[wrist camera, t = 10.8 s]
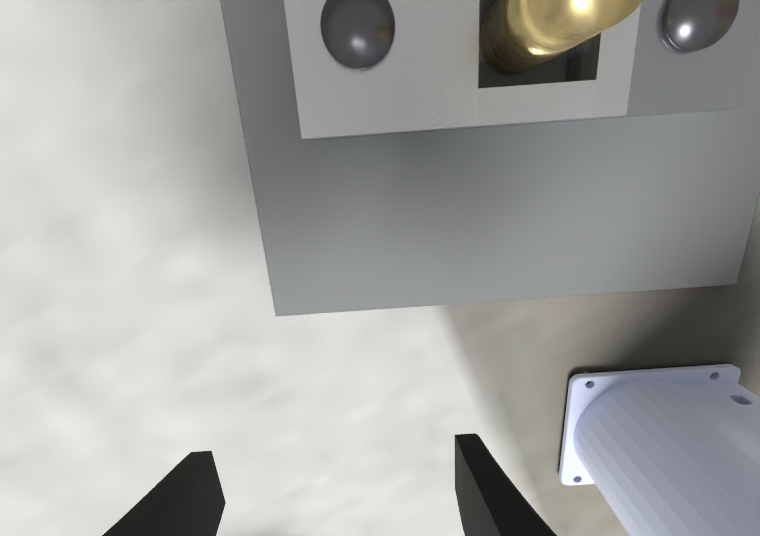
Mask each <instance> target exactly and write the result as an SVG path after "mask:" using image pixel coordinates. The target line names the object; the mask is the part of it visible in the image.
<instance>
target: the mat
mask: <svg viewBox="0 0 760 536" xmlns="http://www.w3.org/2000/svg"><path fill="white" fill-rule="evenodd" d="M220 1H221V7H222V13H223V18H224V24H225V30H226V35H227V41H228V47H229V53H230V58H231V64H232V70H233V75H234V81H235V87H236V92H237V98H238V104H239V109H240V115H241V121H242V127H243V132H244V138H245V144H246V149H247V155H248V161H249V166H250V172H251V178H252V183H253V189H254V195H255V201H256V206H257V212H258V218H259V223H260V229H261V235H262V240H263V246H264V252H265V257H266V263H267V269H268V275H269V280H270V286H271V292H272V297H273V303H274V309H275V314H276V316H287V315H302V314H316V313H331V312H345V311H360V310H374V309H389V308H403V307H418V306H432V305H447V304H461V303H476V302H490V301H505V300H519V299H534V298H548V297H562V296H577V295H591V294H606V293H620V292H635V291H649V290H664V289H678V288H693V287H707V286H722V285H736V284H737V280H738V276H739V272H740V268H741V264H742V260H743V256H744V252H745V248H746V244H747V241H748V237H749V233H750V229H751V225H752V221H753V217H754V213H755V209H756V205H757V202H758V198H759V194H760V22H759V26H758V31H757V35H756V40H755V44H754V49H753V53H752V58H751V62H750V67H749V71H748V76H747V80H746V85H745V89H744V94H743V98H742V103H741V107H740V108H736V109H727V110H719V111H709V112H695V113H681V114H668V115H654V116H640V117H627V118H613V119H599V120H586V121H572V122H558V123H545V124H531V125H517V126H504V127H490V128H477V129H463V130H449V131H436V132H422V133H408V134H395V135H381V136H367V137H354V138H340V139H326V140H313V141H312V140H306V139H302V137H301V130H300V122H299V114H298V106H297V99H296V91H295V83H294V75H293V68H292V60H291V52H290V44H289V37H288V29H287V21H286V13H285V6H284V0H220ZM495 1H496V0H479V32H480V27H481V24H482V21H483V19H484V17H485V15H486V13H487V11H488V10H489V9H490V7H491V6H492V5H493V4H494V2H495ZM566 59H567V51H565V52H563V53H561V54H559V55H557V56H556V57H554V58H552V59H550V60H548V61H546V62H544V63H542V64H540V65H539V66H537V67H535V68H533V69H531V70H529V71H527V72H525V73H523V74H520V75H515V76H507V75H503V74H500V73H497V72H496V71H494V70H493V69H492V68H490V67H489V66H488V64H487V63H486V62H485V60H484V58H483V56H482V54H481V50H480V45H479V65H478V89H479V88H492V87H506V86H519V85H533V84H546V83H559V82H565V71H566Z"/></svg>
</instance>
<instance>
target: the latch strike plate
mask: <svg viewBox="0 0 760 536" xmlns="http://www.w3.org/2000/svg"><path fill="white" fill-rule="evenodd" d="M284 6H285V13H286V21H287V29H288V37H289V44H290V52H291V60H292V68H293V75H294V83H295V91H296V99H297V106H298V114H299V122H300V130H301V137H302V139H306V140H312V141H313V140H326V139H340V138H354V137H367V136H381V135H395V134H408V133H422V132H436V131H449V130H463V129H477V128H490V127H504V126H517V125H531V124H545V123H558V122H572V121H586V120H599V119H613V118H627V117H640V116H654V115H668V114H681V113H695V112H709V111H719V110H727V109H736V108H740V107H741V103H742V98H743V94H744V89H745V85H746V80H747V76H748V71H749V67H750V62H751V58H752V53H753V49H754V44H755V40H756V35H757V31H758V26H759V22H760V0H643V2H642V3H641V4H640V5H639V7H638V8H637V9H636V10H635V11H634V12H633V13H632V14H631V15H629V16H628V17H627V18H626V19H624V20H623V21H621V22H620V23H618V24H616V25H614V26H612V27H610V28H609V29H607V30H605V31H603V32H601V33H599V34H597V35H595V36H593V37H592V38H590V39H588V40H586V41H584V42H582V43H580V44H578V45H576V46H575V47H573V48H571V49H569V50H567V59H566V71H565V82H559V83H546V84H533V85H519V86H506V87H492V88H479V89H478V65H479V0H284Z"/></svg>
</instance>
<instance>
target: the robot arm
mask: <svg viewBox="0 0 760 536" xmlns="http://www.w3.org/2000/svg"><path fill="white" fill-rule="evenodd" d="M740 375H741V371H740V369H739V368H737V367H736V366H734V365H732V364H720V365H705V366H690V367H675V368H660V369H645V370H630V371H616V372H601V373H586V374H576V375H574V376H572V378H571V379H570V381H569V388H568V397H567V406H566V415H565V424H564V433H563V442H562V451H561V460H560V469H559V479H560V480H561V482H562V483H563V484H564V485H582V484H596V485H597V487H598V488H599V490H600V491H601V493H602V494H603V496H604V498H605V499H606V501H607V502H608V504H609V505H610V507H611V508H612V510H613V511H614V513H615V514H616V516H617V517H618V519H619V520H620V522H621V523H622V525H623V526H624V528H625V529H626V531H627V532H628V534H629V535H630V536H760V397H759V396H757V395H756V394H754V393H752V392H751V391H749V390H748V389H746V388H745V387H743V386H742V385H740V384H738V382H739V378H740ZM588 381H590V382H589V383H588V384H586V383H587V382H588ZM455 490H456V495H457V500H458V506H459V511H460V516H461V521H462V526H463V530H464V533H465V536H557V535H556V534H555V533H554V532H553V531H552V530H551V529H550V527H549V526H548V525H547V524H546V523H545V522H544V521H543V519H542V518H541V517H540V516H539V515H538V514H537V513H536V511H535V510H534V509H533V508H532V507H531V505H530V504H529V503H528V502H527V501H526V499H525V498H524V497H523V496H522V494H521V493H520V492H519V491H518V489H517V488H516V487H515V486H514V484H513V483H512V482H511V481H510V479H509V478H508V477H507V475H506V474H505V473H504V471H503V470H502V469H501V467H500V466H499V465H498V463H497V462H496V461H495V459H494V458H493V456H492V455H491V453H490V452H489V451H488V449H487V448H486V446H485V445H484V443H483V442H482V440H481V439H480V437H479V436H478V435H477V434H461V435H455ZM224 506H225V499H224V496H223V492H222V488H221V484H220V481H219V477H218V473H217V470H216V466H215V462H214V459H213V455H212V451H203V452H191V453H190V454H189V455H187V456H186V457H185V458H184V459H183V460H182V461H181V462H180V463H179V464H178V465H177V466H176V467H175V468H174V469H173V470H172V471H170V472H169V473H168V474H167V475H166V476H165V477H164V478H163V479H162V480H161V481H160V482H159V483H158V484H157V485H156V486H155V487H154V488H153V489H152V490H151V491H150V492H149V493H148V494H147V495H146V496H145V497H143V498H142V499H141V500H140V501H139V502H138V503H137V504H136V505H135V506H134V507H133V508H132V509H131V510H130V511H129V512H128V513H127V514H126V515H124V516H123V517H122V518H121V519H120V520H119V521H118V522H117V523H116V524H115V525H114V526H112V527H111V528H110V529H109V530H108V531H107V532H106V533H105V534H104V535H102V536H216V533H217V530H218V527H219V524H220V520H221V517H222V513H223V510H224Z"/></svg>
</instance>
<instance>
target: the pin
mask: <svg viewBox="0 0 760 536" xmlns="http://www.w3.org/2000/svg"><path fill="white" fill-rule="evenodd" d="M642 2H643V0H496V1H495V2H494V4H493V5H492V6H491V7H490V9H489V10H488V11H487V13H486V15H485V17H484V19H483V21H482V24H481V27H480V32H479V45H480V50H481V54H482V56H483V58H484V60H485V62H486V63H487V64H488V66H489V67H490V68H492V69H493V70H494V71H496V72H497V73H500V74H503V75H507V76H515V75H520V74H523V73H525V72H527V71H529V70H531V69H533V68H535V67H537V66H539V65H540V64H542V63H544V62H546V61H548V60H550V59H552V58H554V57H556V56H557V55H559V54H561V53H563V52H565V51H567V50H569V49H571V48H573V47H575V46H576V45H578V44H580V43H582V42H584V41H586V40H588V39H590V38H592V37H593V36H595V35H597V34H599V33H601V32H603V31H605V30H607V29H609V28H610V27H612V26H614V25H616V24H618V23H620V22H621V21H623V20H624V19H626V18H627V17H628V16H629V15H631V14H632V13H633V12H634V11H635V10H636V9H637V8H638V7H639V5H640V4H641V3H642Z"/></svg>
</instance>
